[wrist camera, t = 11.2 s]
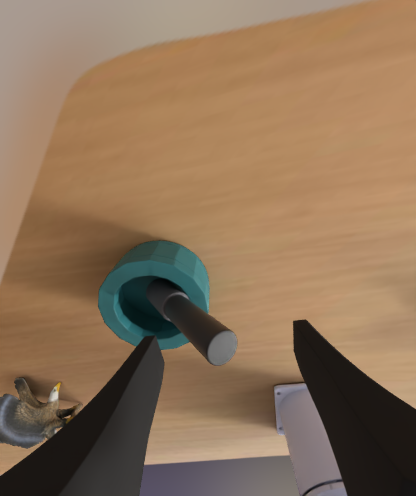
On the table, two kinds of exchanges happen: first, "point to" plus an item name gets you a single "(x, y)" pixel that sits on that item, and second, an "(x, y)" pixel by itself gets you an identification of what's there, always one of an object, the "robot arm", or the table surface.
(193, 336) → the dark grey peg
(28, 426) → the eagle figurine
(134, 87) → the table surface
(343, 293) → the table surface
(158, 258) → the teal hollow cylinder
